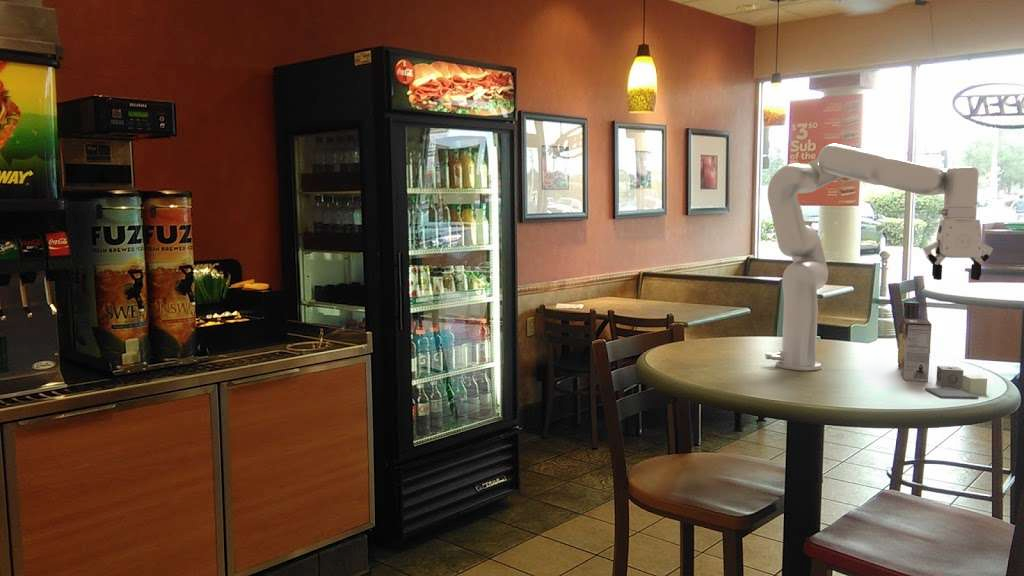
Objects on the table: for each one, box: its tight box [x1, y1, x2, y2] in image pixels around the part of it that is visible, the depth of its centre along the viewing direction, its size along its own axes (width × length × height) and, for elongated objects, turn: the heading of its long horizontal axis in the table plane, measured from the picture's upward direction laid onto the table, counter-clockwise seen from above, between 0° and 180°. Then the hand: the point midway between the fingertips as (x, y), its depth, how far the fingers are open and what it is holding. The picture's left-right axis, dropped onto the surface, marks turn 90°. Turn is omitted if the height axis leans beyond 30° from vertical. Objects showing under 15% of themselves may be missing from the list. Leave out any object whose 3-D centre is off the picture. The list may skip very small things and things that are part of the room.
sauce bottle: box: [897, 301, 920, 370], centre depth 235 cm, size 7×6×20 cm
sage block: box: [962, 374, 988, 395], centre depth 206 cm, size 4×4×4 cm
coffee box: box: [900, 318, 933, 383], centre depth 222 cm, size 9×6×16 cm
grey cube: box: [935, 365, 964, 389], centre depth 213 cm, size 5×5×5 cm
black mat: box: [924, 387, 979, 400], centre depth 203 cm, size 9×9×1 cm
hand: (956, 279), depth 210 cm, fingers open, 9 cm apart
